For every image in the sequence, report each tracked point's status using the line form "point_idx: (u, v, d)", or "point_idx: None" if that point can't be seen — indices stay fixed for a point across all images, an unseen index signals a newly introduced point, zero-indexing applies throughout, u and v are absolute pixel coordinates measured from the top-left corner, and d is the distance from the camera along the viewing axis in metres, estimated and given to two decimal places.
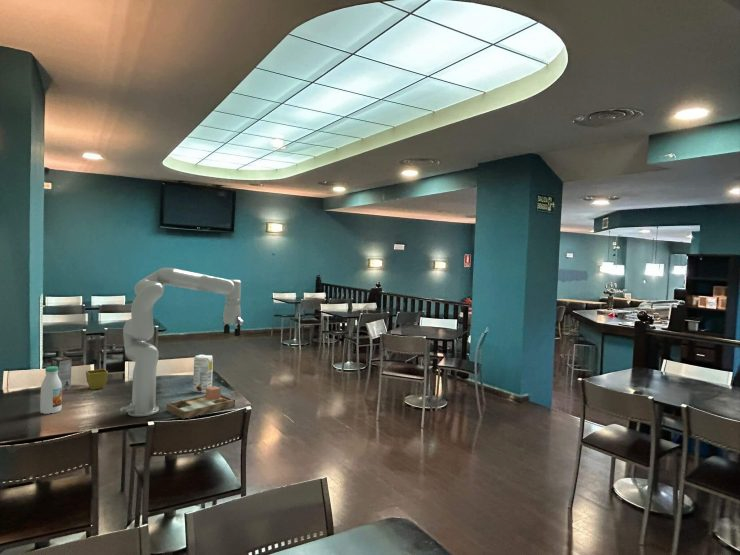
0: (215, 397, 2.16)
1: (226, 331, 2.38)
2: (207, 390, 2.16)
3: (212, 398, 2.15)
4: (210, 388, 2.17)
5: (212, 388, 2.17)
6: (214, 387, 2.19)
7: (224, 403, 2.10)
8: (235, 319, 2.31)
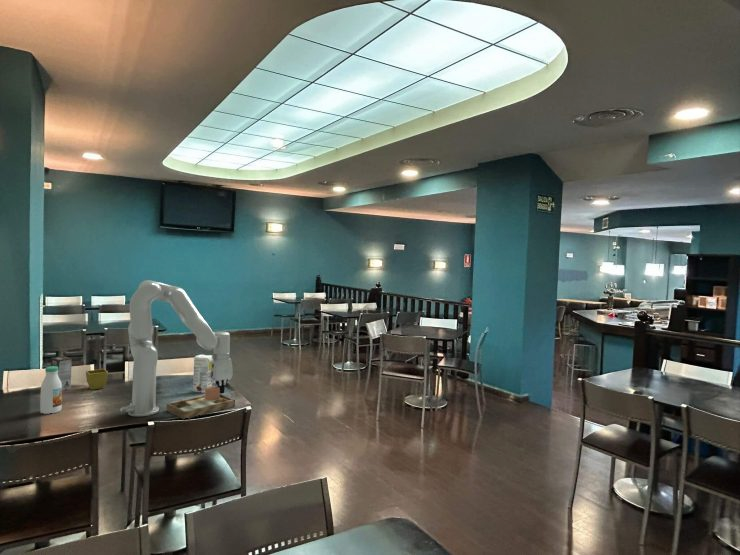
0: (215, 397, 2.16)
1: None
2: (206, 390, 2.16)
3: (212, 398, 2.15)
4: (209, 388, 2.16)
5: (211, 388, 2.17)
6: (213, 387, 2.18)
7: (224, 403, 2.10)
8: None
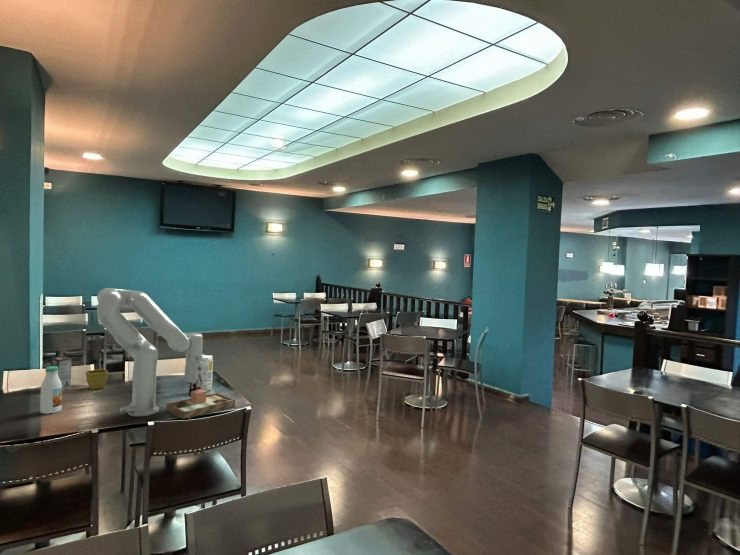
0: (201, 400, 2.10)
1: None
2: (192, 393, 2.10)
3: (198, 402, 2.09)
4: (195, 391, 2.11)
5: (197, 391, 2.11)
6: (200, 390, 2.13)
7: (224, 403, 2.10)
8: None
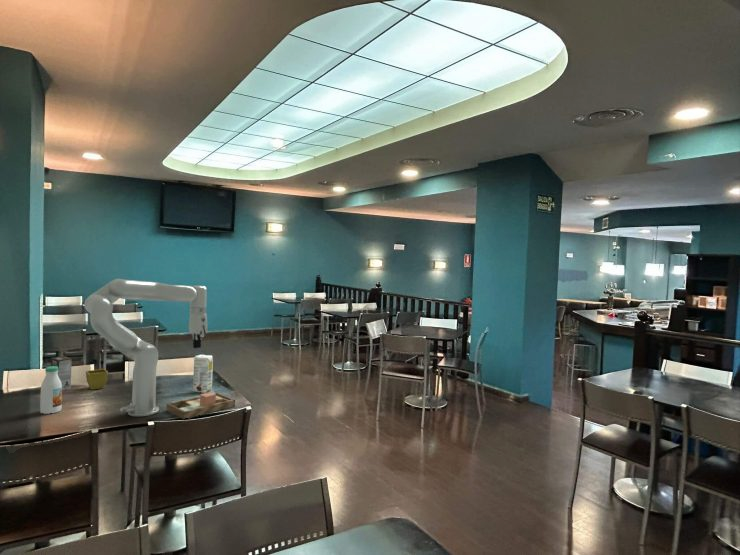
0: (210, 404, 2.06)
1: None
2: (202, 397, 2.06)
3: (207, 405, 2.05)
4: (205, 395, 2.06)
5: (207, 395, 2.07)
6: (209, 393, 2.08)
7: (224, 403, 2.10)
8: None
